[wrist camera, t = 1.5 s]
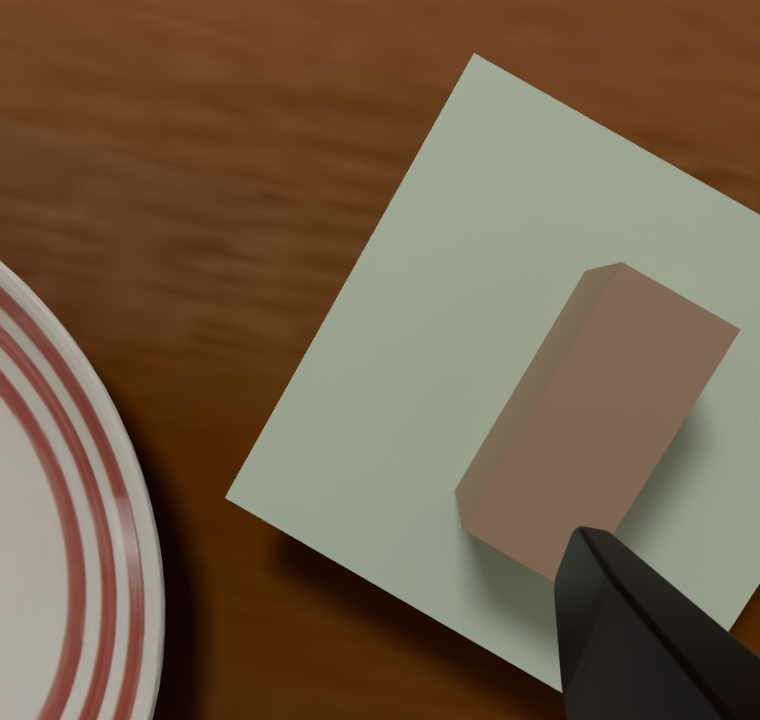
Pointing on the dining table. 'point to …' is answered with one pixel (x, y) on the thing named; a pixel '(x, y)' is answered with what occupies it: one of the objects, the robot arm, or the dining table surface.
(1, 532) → the dinner plate
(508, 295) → the cover
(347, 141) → the dining table surface
